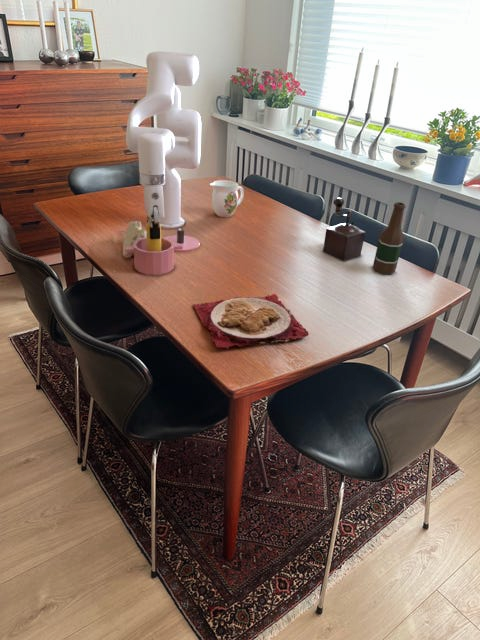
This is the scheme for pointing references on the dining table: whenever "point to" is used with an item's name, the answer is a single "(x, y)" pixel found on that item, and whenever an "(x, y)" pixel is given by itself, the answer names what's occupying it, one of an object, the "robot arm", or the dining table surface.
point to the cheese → (132, 236)
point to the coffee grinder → (343, 237)
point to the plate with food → (249, 321)
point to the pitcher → (226, 197)
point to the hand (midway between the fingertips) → (153, 234)
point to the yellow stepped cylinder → (152, 244)
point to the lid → (184, 241)
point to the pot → (153, 256)
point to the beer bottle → (390, 243)
